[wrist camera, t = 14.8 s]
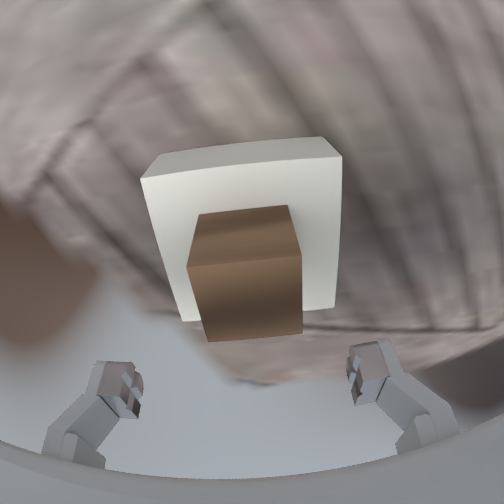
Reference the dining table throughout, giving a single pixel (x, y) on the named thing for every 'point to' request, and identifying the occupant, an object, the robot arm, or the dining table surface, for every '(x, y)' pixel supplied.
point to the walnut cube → (247, 274)
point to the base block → (249, 204)
